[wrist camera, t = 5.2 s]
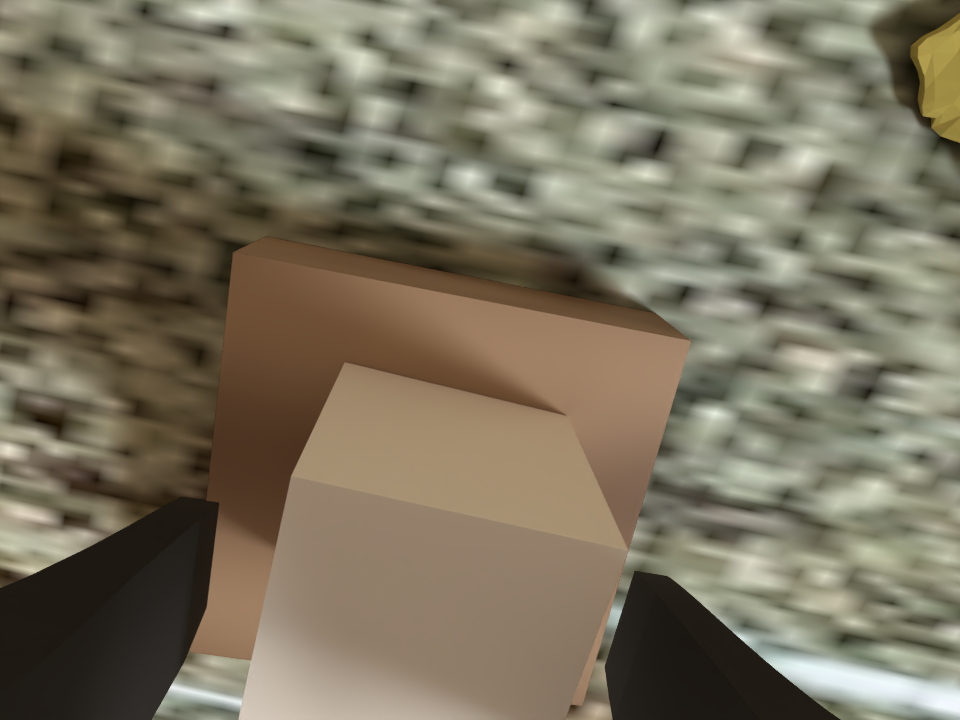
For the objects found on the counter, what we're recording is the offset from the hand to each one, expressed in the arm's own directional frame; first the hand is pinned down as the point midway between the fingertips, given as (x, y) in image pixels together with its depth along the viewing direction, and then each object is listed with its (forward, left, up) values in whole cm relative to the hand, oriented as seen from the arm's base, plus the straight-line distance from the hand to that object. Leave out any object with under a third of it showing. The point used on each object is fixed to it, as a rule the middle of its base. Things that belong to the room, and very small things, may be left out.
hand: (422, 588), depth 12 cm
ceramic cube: (0, 0, -3) cm, 3 cm away
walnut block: (0, 0, -6) cm, 6 cm away
